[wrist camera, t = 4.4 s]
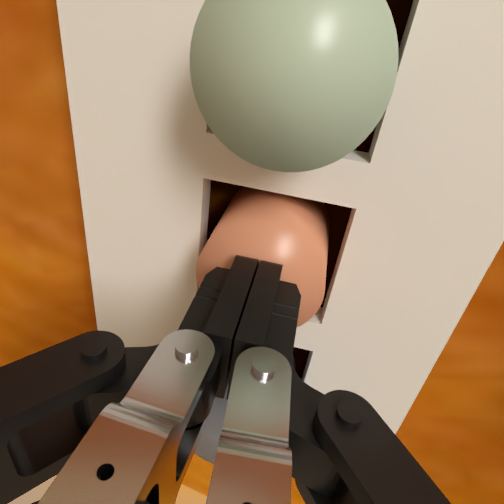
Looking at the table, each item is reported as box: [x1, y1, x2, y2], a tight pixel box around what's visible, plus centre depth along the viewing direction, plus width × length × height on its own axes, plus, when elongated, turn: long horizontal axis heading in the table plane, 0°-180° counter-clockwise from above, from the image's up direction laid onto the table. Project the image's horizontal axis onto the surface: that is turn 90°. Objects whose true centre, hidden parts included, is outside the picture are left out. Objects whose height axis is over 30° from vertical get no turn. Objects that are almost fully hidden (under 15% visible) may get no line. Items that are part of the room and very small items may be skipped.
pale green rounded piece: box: [190, 0, 398, 172], centre depth 10 cm, size 4×4×4 cm
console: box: [56, 0, 504, 434], centre depth 15 cm, size 14×24×3 cm, turn 173°
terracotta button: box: [196, 186, 330, 327], centre depth 14 cm, size 4×4×4 cm
